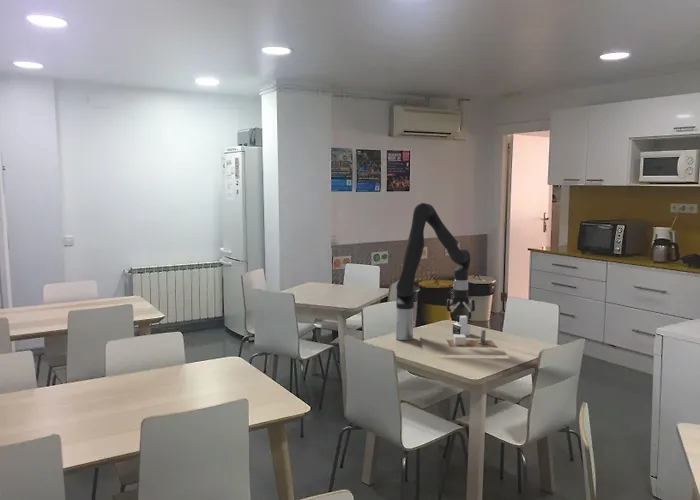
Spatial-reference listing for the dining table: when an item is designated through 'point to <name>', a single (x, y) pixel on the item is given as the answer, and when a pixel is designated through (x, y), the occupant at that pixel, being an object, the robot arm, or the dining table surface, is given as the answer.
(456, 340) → the cap
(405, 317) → the robot arm
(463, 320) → the medicine bottle
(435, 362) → the dining table surface
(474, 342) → the post board
